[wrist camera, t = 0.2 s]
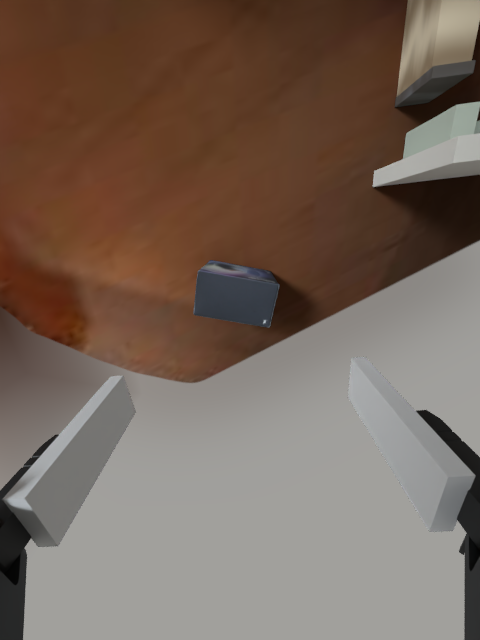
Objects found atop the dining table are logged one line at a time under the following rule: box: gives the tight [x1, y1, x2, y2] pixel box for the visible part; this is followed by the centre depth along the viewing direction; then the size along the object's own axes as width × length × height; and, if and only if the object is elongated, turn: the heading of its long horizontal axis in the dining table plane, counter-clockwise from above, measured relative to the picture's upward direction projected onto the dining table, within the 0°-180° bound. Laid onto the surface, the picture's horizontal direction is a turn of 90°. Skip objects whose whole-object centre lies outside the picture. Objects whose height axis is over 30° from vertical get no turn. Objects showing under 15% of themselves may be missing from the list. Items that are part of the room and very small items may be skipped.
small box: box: [194, 260, 279, 328], centre depth 35 cm, size 11×6×10 cm, turn 80°
